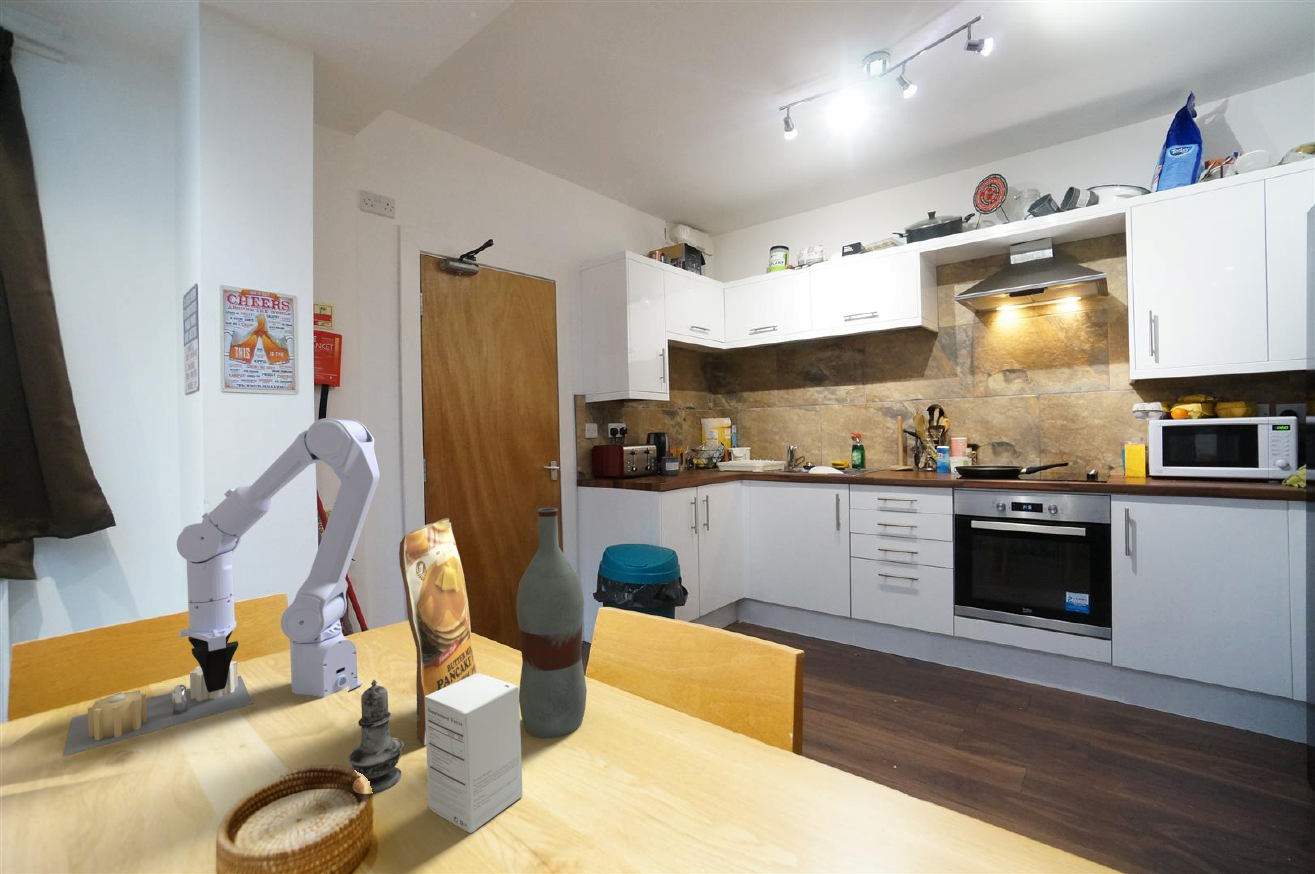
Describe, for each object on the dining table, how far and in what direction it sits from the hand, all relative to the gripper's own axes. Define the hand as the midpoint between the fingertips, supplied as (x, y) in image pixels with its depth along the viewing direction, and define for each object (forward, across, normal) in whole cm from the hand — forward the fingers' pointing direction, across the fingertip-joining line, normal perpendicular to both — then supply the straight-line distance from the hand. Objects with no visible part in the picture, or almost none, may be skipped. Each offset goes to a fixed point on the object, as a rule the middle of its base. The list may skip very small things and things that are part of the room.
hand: (214, 683), depth 91 cm
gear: (+1, 0, 0) cm, 1 cm away
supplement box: (+3, +54, +19) cm, 57 cm away
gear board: (+2, +2, -6) cm, 7 cm away
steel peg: (+2, +5, -4) cm, 7 cm away
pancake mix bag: (+3, +32, +24) cm, 40 cm away
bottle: (+3, +45, +34) cm, 57 cm away
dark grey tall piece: (+3, +42, +12) cm, 43 cm away
